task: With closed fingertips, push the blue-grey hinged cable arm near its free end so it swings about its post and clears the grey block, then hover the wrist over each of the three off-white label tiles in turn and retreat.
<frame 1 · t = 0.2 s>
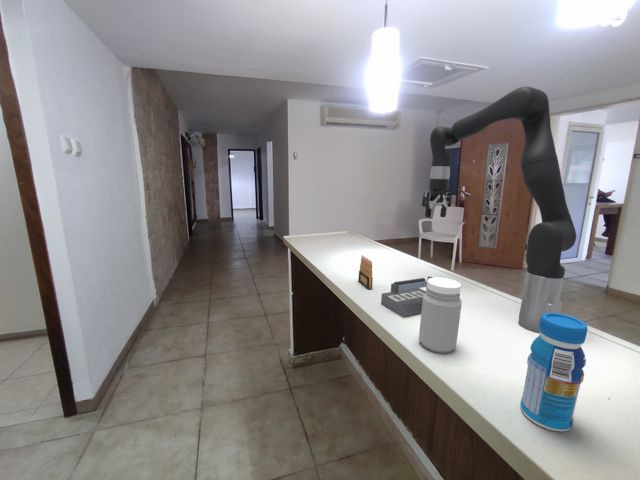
hand: (435, 217, 131), 29 cm above the counter, fingers open, 8 cm apart
ammunition clip: (364, 285, 131), on the counter
jar: (436, 345, 85), on the counter
grey block: (410, 306, 110), on the counter
beverage bottle: (544, 417, 60), on the counter
cable arm: (410, 285, 108), point 8 cm above the counter, hinge at 0.0°
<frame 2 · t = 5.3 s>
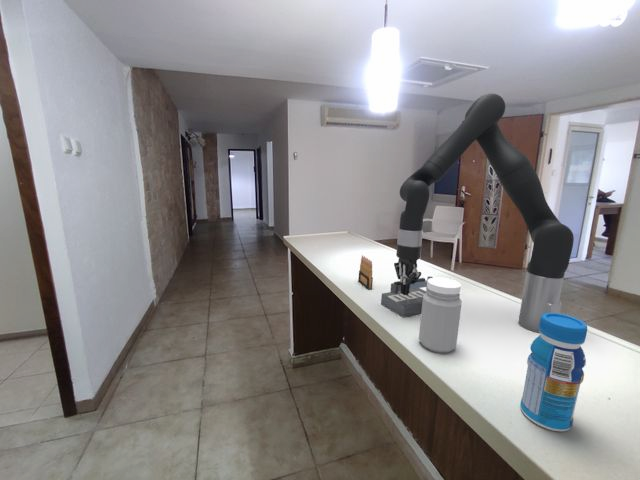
hand: (404, 294, 104), 7 cm above the counter, fingers closed
cable arm: (410, 285, 108), point 8 cm above the counter, hinge at 0.4°, touching gripper
everything else where it was.
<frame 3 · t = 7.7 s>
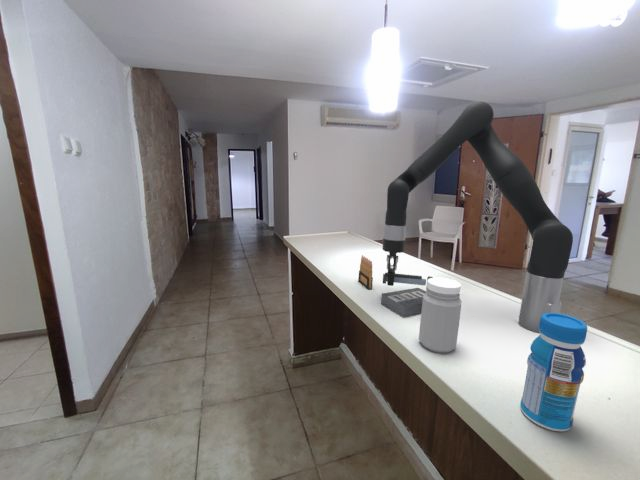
hand: (390, 284, 113), 7 cm above the counter, fingers closed
cable arm: (404, 279, 114), point 8 cm above the counter, hinge at 39.0°, touching gripper
everything else where it was.
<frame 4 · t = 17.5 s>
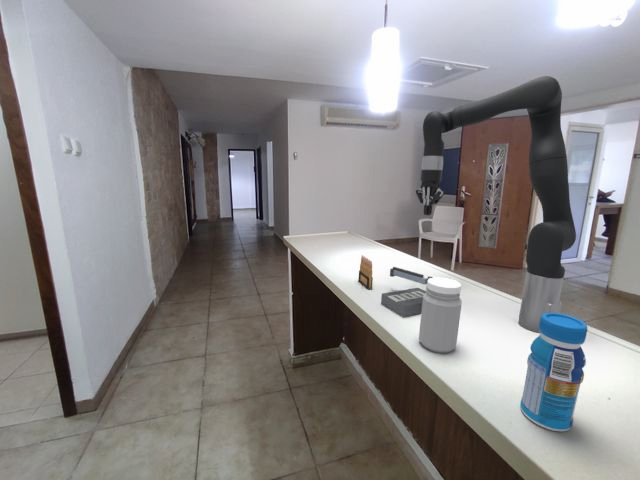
hand: (427, 215, 120), 31 cm above the counter, fingers closed
cable arm: (408, 275, 119), point 8 cm above the counter, hinge at 75.2°
everything else where it was.
at the end: cable arm at +75° (first picture: +0°); ammunition clip moved 0.3 cm from its start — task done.
